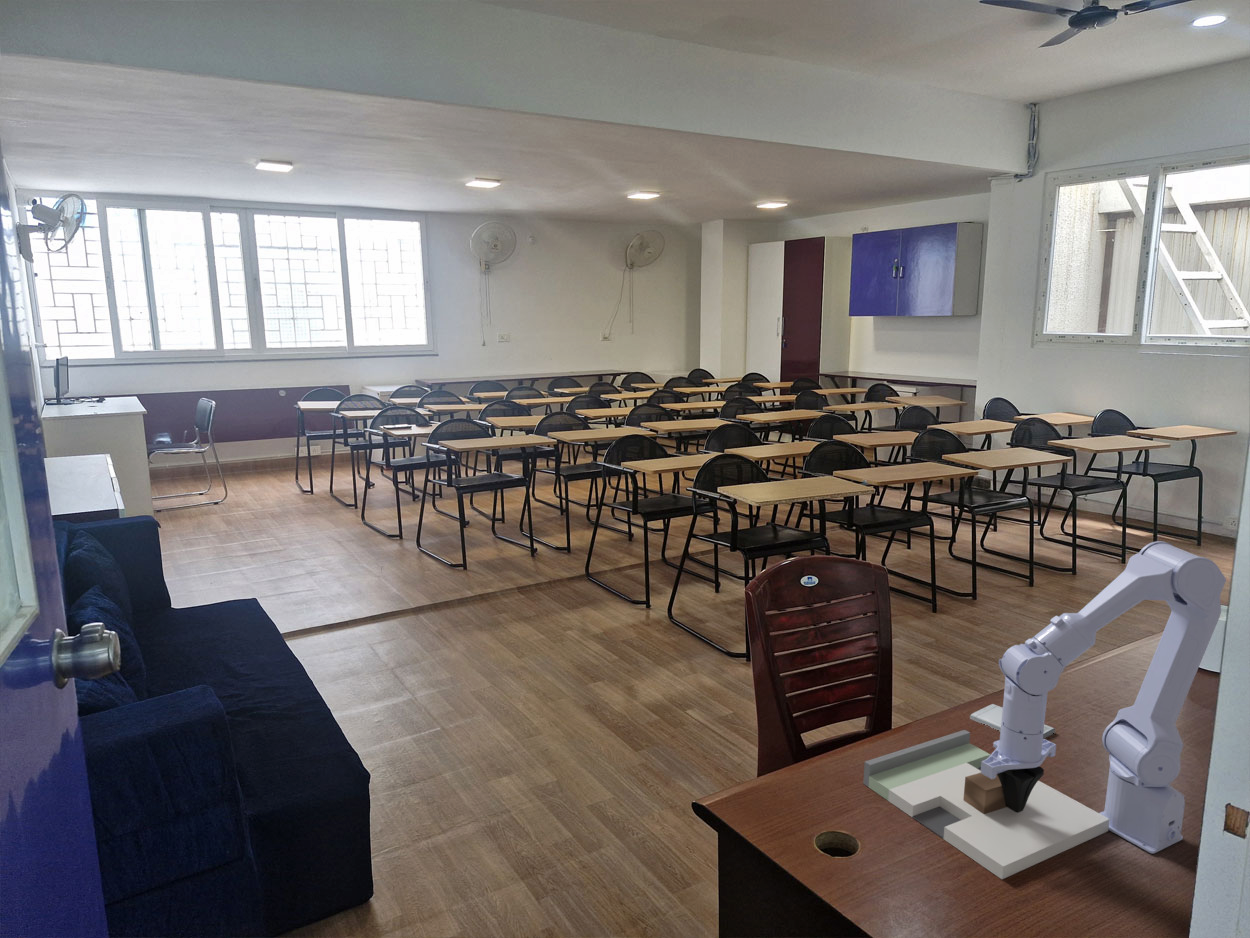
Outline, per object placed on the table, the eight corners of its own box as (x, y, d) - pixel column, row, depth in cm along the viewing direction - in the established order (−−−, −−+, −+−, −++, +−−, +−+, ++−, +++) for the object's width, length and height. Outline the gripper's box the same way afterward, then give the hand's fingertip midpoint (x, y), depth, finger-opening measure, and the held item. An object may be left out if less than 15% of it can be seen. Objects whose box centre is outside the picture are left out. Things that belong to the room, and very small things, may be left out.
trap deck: (1108, 831, 121) (1111, 807, 121) (1001, 879, 110) (1004, 853, 110) (962, 750, 145) (964, 729, 144) (863, 783, 134) (864, 761, 133)
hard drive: (1055, 727, 151) (993, 702, 161) (1032, 740, 146) (970, 713, 156) (1054, 735, 151) (992, 710, 161) (1031, 748, 147) (969, 721, 157)
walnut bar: (1021, 802, 125) (1024, 779, 124) (983, 814, 122) (985, 790, 121) (1000, 789, 129) (1003, 766, 128) (963, 800, 126) (965, 777, 125)
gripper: (1029, 704, 126) (1021, 783, 129) (966, 724, 120) (959, 807, 122) (1072, 723, 120) (1063, 806, 122) (1008, 746, 113) (999, 832, 116)
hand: (1014, 808), depth 122 cm, fingers closed
